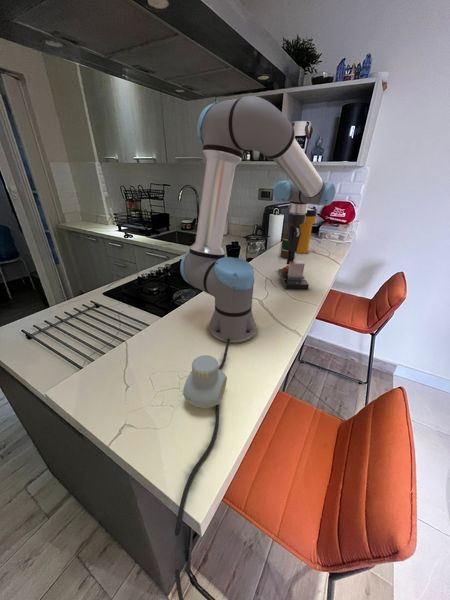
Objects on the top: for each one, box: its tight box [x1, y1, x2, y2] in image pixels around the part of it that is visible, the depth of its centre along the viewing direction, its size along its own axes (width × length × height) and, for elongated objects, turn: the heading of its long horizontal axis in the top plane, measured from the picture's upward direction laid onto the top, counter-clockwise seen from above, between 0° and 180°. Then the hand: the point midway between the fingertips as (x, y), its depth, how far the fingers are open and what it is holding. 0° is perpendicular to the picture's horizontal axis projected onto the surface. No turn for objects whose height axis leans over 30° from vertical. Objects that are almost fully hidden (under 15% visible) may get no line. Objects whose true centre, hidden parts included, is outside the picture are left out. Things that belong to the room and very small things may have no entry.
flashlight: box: [295, 207, 318, 254], centre depth 154 cm, size 10×26×10 cm
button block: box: [278, 266, 288, 276], centre depth 126 cm, size 10×8×3 cm
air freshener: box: [182, 354, 228, 409], centre depth 59 cm, size 11×8×10 cm
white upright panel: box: [287, 261, 305, 280], centre depth 114 cm, size 6×2×8 cm, turn 90°
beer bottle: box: [280, 221, 291, 260], centre depth 145 cm, size 8×8×24 cm
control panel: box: [280, 274, 310, 291], centre depth 117 cm, size 11×10×3 cm
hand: (289, 264), depth 124 cm, fingers closed
